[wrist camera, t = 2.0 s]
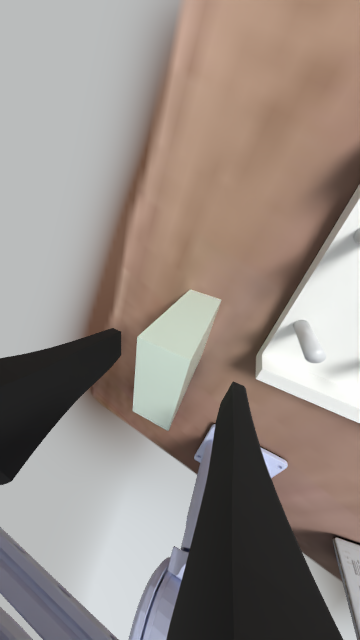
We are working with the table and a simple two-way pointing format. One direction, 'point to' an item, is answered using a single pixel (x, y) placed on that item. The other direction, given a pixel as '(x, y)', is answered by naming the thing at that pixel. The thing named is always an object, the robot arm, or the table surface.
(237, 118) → the table surface
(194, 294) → the block
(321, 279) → the dish rack
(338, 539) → the hard drive box
